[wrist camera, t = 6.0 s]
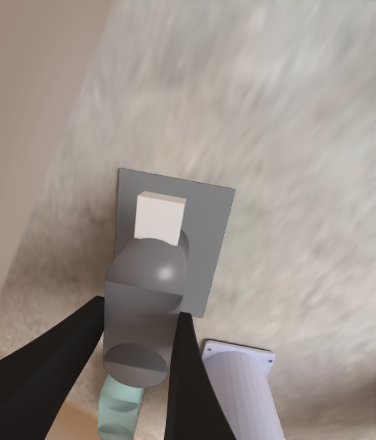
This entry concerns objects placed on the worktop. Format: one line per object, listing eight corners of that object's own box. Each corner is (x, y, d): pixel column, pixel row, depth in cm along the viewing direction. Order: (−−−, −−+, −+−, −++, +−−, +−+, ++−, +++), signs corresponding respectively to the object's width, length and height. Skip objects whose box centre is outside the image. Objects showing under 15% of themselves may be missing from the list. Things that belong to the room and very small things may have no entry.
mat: (202, 315, 21) (202, 318, 20) (112, 298, 21) (111, 301, 20) (234, 189, 16) (235, 189, 16) (121, 167, 16) (119, 168, 16)
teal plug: (118, 340, 23) (99, 382, 18) (151, 346, 23) (140, 390, 18) (113, 405, 26) (96, 452, 22) (141, 410, 26) (130, 459, 22)
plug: (173, 330, 16) (163, 392, 12) (127, 322, 16) (102, 381, 12) (200, 195, 12) (199, 217, 8) (139, 183, 12) (106, 200, 8)
